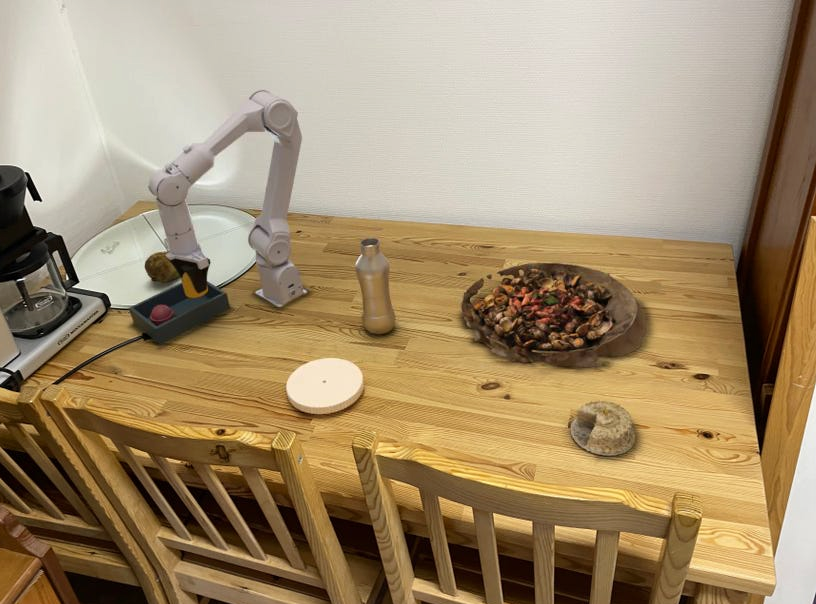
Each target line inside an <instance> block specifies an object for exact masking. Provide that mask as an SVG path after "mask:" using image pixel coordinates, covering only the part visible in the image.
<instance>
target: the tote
mask: <svg viewBox="0 0 816 604" xmlns="http://www.w3.org/2000/svg"><path fill="white" fill-rule="evenodd" d="M207 287H208V291H207V293H206V294H204V295H202V296H200V297H196V298H190V297H187V296H186V295H185V291H184V288H183V285H182V281H181V282H178V283H177V284H175V285H173V286H171V287H168V288H167V289H165V290H162V291H160V292H159V293H156V294H155V295H152V296H150V297H149V298H145V299H144V300H142V301H140V302H138V303H136V304H134V305H131V306H130V307H128V311H129V313H130V316H131V318H132V322H133V324H134V325H135V326H136V327H138V328H139V329H140V330H141V331H143V332H144V333H145V334H146V335H148V336H149V337H150V338H151V339H152V340H154V341H155V342H156V343H157V344H159V345H160V346H161V345H164V344H165V343H167V342H169V341H172V340H173V339H175V338H177V337H178V336H181V335H183V334H184V333H187V332H188V331H191V330H192V329H194V328H196V327H198V326H200V325H202V324H204V323H206V322H208V321H210V320H211V319H213V318H215V317H217V316H219V315H221V314H223V313H225V312H227V311H228V310H230V309H231V305H230V301H229V297H228V294H227V292H226V291H224V290H222V289H220V288H219V287H218V286H216V285H214V284H213V283H211V282H210V281H208V280H207ZM158 305H166V306H168V307H169V308H170V309H172V310H173V312H174V315H176V316H177V317H175V318H173V319H171V320H169V321H167V322H165V323H163V324H161V325H159V326H156V325H154V324H153V323H152V322H151V319H150V315H151V312H152V310H153V308H154V307H156V306H158Z"/></svg>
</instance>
